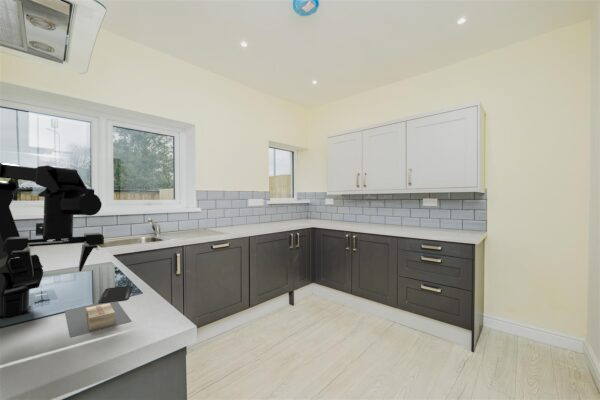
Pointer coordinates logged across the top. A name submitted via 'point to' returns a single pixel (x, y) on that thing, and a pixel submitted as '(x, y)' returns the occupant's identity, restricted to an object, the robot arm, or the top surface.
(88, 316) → the beige wooden block
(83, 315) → the mat
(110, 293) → the phone
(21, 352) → the top surface
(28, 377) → the top surface
